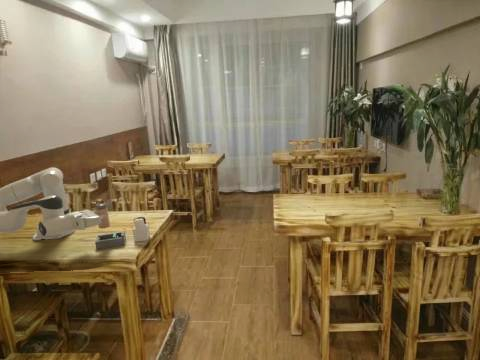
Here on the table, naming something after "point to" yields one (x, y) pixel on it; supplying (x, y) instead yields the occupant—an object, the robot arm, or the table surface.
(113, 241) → the grey rectangular box
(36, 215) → the table surface
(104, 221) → the terracotta jar
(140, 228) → the medicine bottle
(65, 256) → the table surface
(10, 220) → the robot arm
